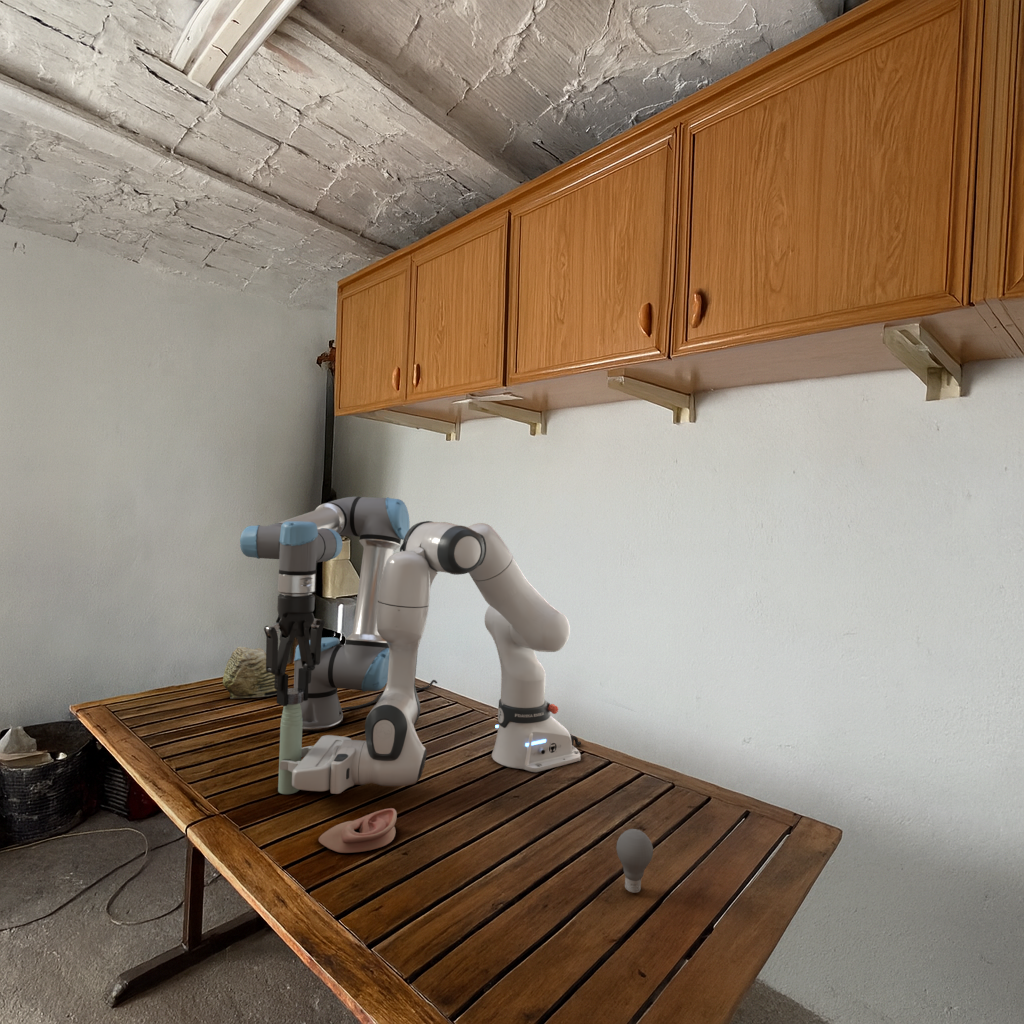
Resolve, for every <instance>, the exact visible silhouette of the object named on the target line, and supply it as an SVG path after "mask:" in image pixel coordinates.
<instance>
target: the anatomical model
mask: <svg viewBox="0 0 1024 1024" xmlns="http://www.w3.org/2000/svg"><path fill="white" fill-rule="evenodd" d="M397 816H398V813H397V810H396V809H395V808H392V807H390V808H384V809H380V810H377V811H374V812H371V813H369V814H366V815H364V816H362V817H360V818H357V819H354V820H348V821H343V822H341V823H339V824H335V825H334V826H332V827H330V828H328V830H326V831H324V832H323V833H322V834H321V835H320V836H319V837H318V842H319V843H320V844H321V845H322V846H324V847H325V848H327V849H329V850H332V851H333V852H336V853H339V854H351V853H361V852H367V851H372V850H376V849H380V848H382V847H385V846H387V845H389V844H390V843H392V842H393V840H394V839H395V837H396V833H397V832H396V827H395V825H396V823H397V818H398V817H397Z"/></svg>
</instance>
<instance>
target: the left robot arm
mask: <svg viewBox="0 0 1024 1024" xmlns="http://www.w3.org/2000/svg"><path fill="white" fill-rule="evenodd" d="M410 523H411V521H410V515H409V511H408V507H407V505H406V503H405V502H404V501H403V500H402V499H399V498H391V497H376V496H372V497H370V496H347V497H342V498H338V499H334V500H330V501H328V502H324V503H321V504H320V505H318V506H317V507H316V508H315V509H314V510H311V511H309V512H305V513H303V514H300V515H297V516H294V517H291V518H287V519H284V520H282V521H279V522H275V523H272V524H269V525H261V524H257V525H248V526H247V527H245V528H244V529H243V530H242V531H241V535H240V539H239V544H240V545H239V546H240V551H241V552H242V554H243V555H244V556H246V557H248V558H256V559H258V560H260V559H264V560H265V559H266V560H267V559H268V560H269V559H270V560H279V562H278V563H279V564H278V565H279V566H278V567H279V569H278V579H277V580H278V582H277V592H278V593H280V594H278V595H277V605H276V607H277V609H276V610H277V615H278V616H277V618H276V619H275V622H274V623H272V624H271V625H265V626H263V631H264V634H265V639H266V640H265V641H266V642H265V643H266V645H265V653H266V671H267V672H270V673H272V674H274V675H275V683H274V688H275V689H276V690H277V694H276V704H277V705H280V706H283V707H284V706H287V699H288V689H289V674H288V673H286V670H287V665H288V661H289V657H290V652H291V648H292V644H294V642H295V638H296V639H297V645H296V647H295V652H294V653H295V654H294V659H293V661H294V672H293V688H300V689H303V690H304V700H303V702H302V703H300V705H301V710H302V712H301V713H302V722H303V725H302V733H316V732H325V731H329V730H332V729H335V728H337V727H339V726H340V725H342V723H343V722H344V714H343V711H347V710H355V709H360V708H364V707H367V706H370V705H373V704H376V703H377V702H378V700H379V699H380V697H381V695H382V694H383V692H380V693H379V694H378V695H377V696H376V698H375V699H373V700H371V701H368V702H366V703H362V704H359V705H353V706H344V707H342V706H341V702H340V699H339V695H338V689H342V690H343V689H345V690H351V691H353V690H354V691H362V692H379V691H381V690H382V689H383V688H384V687H386V685H387V678H388V666H389V646H388V644H387V642H386V641H385V640H384V639H383V638H382V637H381V636H380V635H379V633H378V631H377V621H376V610H377V601H378V593H379V587H380V582H381V578H382V574H383V571H384V567H385V564H386V562H387V560H388V558H389V557H390V556H391V555H393V554H395V551H396V550H397V549H400V547H401V541H403V540H404V538H405V535H406V533H407V532H408V530H409V529H410V528H411V527H410V525H411V524H410ZM342 536H347V537H348V536H349V537H357V538H358V537H359V541H358V542H359V543H360V545H361V546H362V547H363V551H362V559H361V566H360V574H359V582H358V588H357V597H356V604H355V611H354V619H353V625H352V632H351V634H349V635H348V636H347V637H346V638H345V643H344V644H341V641H340V639H339V638H338V637H334V636H331V637H330V636H329V637H328V636H327V637H323V629H324V627H325V622H326V621H325V620H324V619H320V618H315V616H314V613H313V612H314V611H315V600H316V596H315V594H314V593H315V591H316V573H317V570H316V568H317V563H321V562H322V563H323V562H329V561H331V560H333V559H336V558H337V557H338V556H339V555H340V554H341V552H342V550H343V546H344V544H343V539H342ZM279 633H280V635H279ZM278 635H279V636H278ZM433 684H438V681H437V680H436V679H432V680H431V681H430V682H429V684H428V685H426V686H423V687H415V688H416V691H423V690H427V689H429V688H431V687H432V685H433ZM429 685H430V686H429Z"/></svg>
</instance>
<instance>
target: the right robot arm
mask: <svg viewBox="0 0 1024 1024" xmlns="http://www.w3.org/2000/svg"><path fill="white" fill-rule="evenodd" d="M438 573H445V574H446V573H447V574H450V575H454V576H455V575H457V576H458V575H467V574H469V576H470V577H471V579H472V580H473V582H474V584H475V586H476V588H477V589H478V591H479V593H480V594H481V595H482V597H483V599H484V600H485V602H486V603H487V604H488V605H489V606H488V607H487V608H486V611H485V614H484V626H485V628H486V631H487V632H488V633H489V634H490V636H491V637H492V639H493V642H494V645H495V648H496V651H497V656H498V659H499V665H500V698H499V700H498V707H497V723H498V724H495V726H494V727H495V729H497V731H496V738H495V743H494V746H493V749H492V752H491V758H492V760H493V761H494V762H496V763H497V764H499V765H501V766H503V767H507V768H512V769H518V770H519V769H520V770H525V771H527V772H531V773H539V772H544V771H546V770H550V769H554V768H558V767H561V766H566V765H571V764H573V763H577V762H580V761H581V759H582V757H581V753H580V751H579V749H578V748H577V747H578V746H581V745H582V741H579V738H578V737H577V736H576V735H574V734H572V733H570V732H569V730H568V728H566V727H565V726H564V725H563V724H562V723H561V722H559V721H558V720H556V719H555V718H554V717H553V716H552V715H551V714H553V715H556V714H558V712H559V707H558V706H557V705H555V704H554V703H550V702H549V701H547V700H546V677H547V674H546V670H545V667H544V666H543V664H542V663H541V661H540V660H539V659H538V656H537V654H536V652H539V653H555V652H556V653H557V652H558V651H561V650H562V649H563V648H564V647H565V646H566V644H567V643H568V641H569V638H570V635H571V626H570V621H569V619H568V617H567V616H566V615H565V614H564V613H563V612H561V611H560V610H558V609H556V608H555V607H554V606H553V605H551V603H550V602H548V601H547V600H546V599H545V597H544V596H543V595H542V594H541V593H540V592H539V591H538V590H537V589H536V588H535V587H534V586H533V585H532V583H531V582H529V580H528V579H527V577H526V576H525V575H524V572H523V571H522V569H521V568H520V566H519V564H518V563H517V561H516V559H515V557H514V556H513V553H512V552H511V551H510V548H509V547H508V545H507V544H506V543H505V541H504V540H503V538H502V537H501V536H500V535H499V533H498V532H497V531H496V530H495V529H494V528H493V527H492V525H489V524H488V523H484V522H477V523H474V524H471V525H469V526H466V525H458V524H455V523H452V522H446V521H441V522H440V521H431V520H426V521H425V520H424V521H420V522H417V523H415V524H414V525H412V526H411V527H410V528H409V530H408V532H407V533H406V535H405V538H404V540H402V544H400V547H399V551H397V552H394V554H393V555H391V556H390V557H389V558H388V560H387V562H386V564H385V567H384V571H383V574H382V578H381V582H380V587H379V593H378V601H377V610H376V621H377V631H378V633H379V635H380V636H381V637H382V638H383V639H384V640H385V641H386V642H387V644H388V648H389V666H388V678H387V683H386V685H385V688H384V691H383V692H382V693H383V694H382V695H381V696H380V697H379V699H378V700H377V701H376V702H375V704H374V706H373V707H372V708H371V710H370V711H369V713H368V714H367V716H366V717H365V721H364V722H365V723H364V735H365V740H361V739H358V740H357V739H352V738H350V737H348V736H342V735H340V736H339V735H332V734H326V735H322V736H320V738H319V739H318V740H317V741H316V742H315V744H314V745H308V746H304V747H303V746H302V751H301V761H297V762H294V761H291V759H283V760H282V761H281V762H280V769H281V770H288V771H290V772H292V786H293V787H294V788H296V789H299V791H300V790H301V791H309V792H326V791H329V793H330V794H331V795H332V794H333V795H339V794H342V792H344V791H346V790H347V789H349V788H352V787H354V786H355V785H357V786H358V785H359V786H364V785H367V784H374V785H377V786H380V787H405V786H406V787H407V786H412V785H415V784H416V783H418V782H419V780H420V779H421V777H422V776H423V772H424V768H425V765H426V761H427V755H428V751H427V748H426V747H425V746H424V744H423V743H422V742H421V740H420V738H419V736H418V733H417V731H416V728H415V725H416V724H417V722H418V720H419V718H420V715H421V702H420V698H419V695H418V691H417V690H416V688H417V687H416V673H417V665H418V653H419V647H420V645H421V641H422V638H423V635H424V632H425V629H426V625H427V620H428V615H429V609H430V599H431V588H432V584H433V582H434V579H435V578H436V576H437V575H438ZM574 744H575V745H576V746H577V747H575V746H574Z"/></svg>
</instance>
